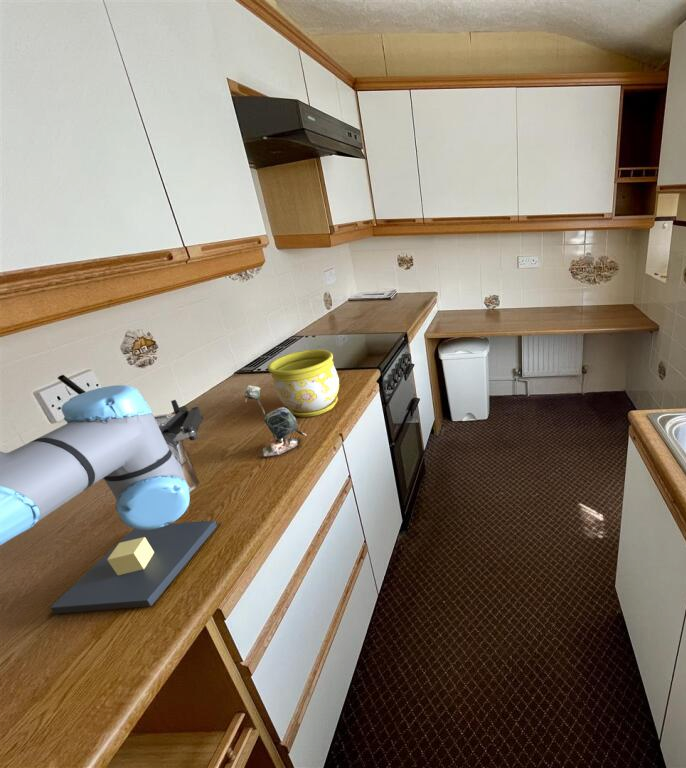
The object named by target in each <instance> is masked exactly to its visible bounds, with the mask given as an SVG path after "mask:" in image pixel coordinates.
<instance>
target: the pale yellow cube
mask: <svg viewBox="0 0 686 768" xmlns="http://www.w3.org/2000/svg"><path fill="white" fill-rule="evenodd" d="M118 543H119V542H118ZM118 543H117V544H118ZM117 544H116V545H117ZM153 554H154V551H153V549H152V548H151V546H150V544H149V543H148V541H147V540H146V538H145V537H143V538H138V539H134V540H130V541H125V542H121V543H119V544H118V545H117V547H116V548H115V549H114V551H113V552H112V554H111V555H110V556H109V558H108V559H107V560H108V562H109V563H110V565H111V566H112V568H113V569H114V571H115V572H116V574H117V575H122V574H126V573H130V572H134V571H138V570H142V569H144V568H145V567H146V565H147V564H148V562H149V560H150V559H151V557H152V555H153Z"/></svg>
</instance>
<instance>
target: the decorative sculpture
mask: <svg viewBox="0 0 686 768" xmlns="http://www.w3.org/2000/svg"><path fill="white" fill-rule="evenodd" d="M261 390H262V389H261V387H260V386H256V385H249V384H248V385H247V386H246V388H245V391H244V397H245V400H244V403H245V402H247V401H248V400H256V402H257V404H258V406H259V408H260V410H261V411H262V413H263V416H264V417H263V421H264V423H265V425H266V426H267V427H268V429H269V431H270V432H271V434H272V435H273V437H272V438H270V439H269V443H268V444H266V445H264V446H263V448H262V450H261V453H260V457H272V456H278V455H279V456H280V455H282V454H284V453H287V452H288V451H291V450H292V449H295V448H297V447H298V444H299V443H298V442H299V440H298V438H296V437H293V438H286V437H287V436H289V435H291V434H292V433H293V432H296V433H298V434H299V435H301V436H304V437H307V436H308V435H307V434H306V433H304V432H302V431H301V430H299V429H298V427H299V425H298V422H297V419H296V417H295V416H294V414H292V413H291V412H290V411H289V408H288V407H278V408H276V409H273V410H271V411H269V412H268V413H266V412H265V410H264V407H263V406H262V404H261V401H260V398H261V392H262V391H261Z"/></svg>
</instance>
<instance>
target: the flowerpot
mask: <svg viewBox="0 0 686 768" xmlns="http://www.w3.org/2000/svg"><path fill="white" fill-rule="evenodd" d="M333 359H334V354H333V353H332V352H331V351H329V350H325V349H306V350H300V351H296V352H291V353H288V354H285V355H283V356H279V357H278V358H276V359H274V360H273V361H271V362H270V363H269V364H268V365H267V371H268V372H269V373H270V374H271V378H272V380H273V385H274V389H275V392H276V395H277V397H278V399H279V400H280V401H281V403H282V404H283V405H284V406H285V407H286V408H288V410H289V411H290V412H291V413H292V415H295V416H296V417H301V418H308V417H309V418H310V417H314V416H319V415H322V414H325V413H327V412H329V411H330V410H332V409H333V408H334V407H335V406H336V404H337V402H338V401H339V397H338V393H339V390H340V379H339V374H338V372H337V369H336V367H335V362H334V360H333Z"/></svg>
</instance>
